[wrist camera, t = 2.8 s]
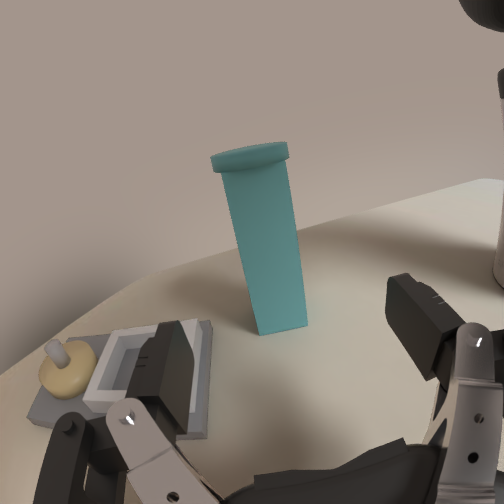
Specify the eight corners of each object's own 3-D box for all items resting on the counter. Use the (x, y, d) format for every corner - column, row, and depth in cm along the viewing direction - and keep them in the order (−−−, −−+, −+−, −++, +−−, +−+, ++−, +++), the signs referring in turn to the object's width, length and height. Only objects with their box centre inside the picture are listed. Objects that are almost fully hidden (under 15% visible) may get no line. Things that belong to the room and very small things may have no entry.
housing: (212, 328, 24) (197, 286, 22) (206, 438, 14) (179, 399, 12) (73, 345, 25) (52, 311, 23) (33, 424, 15) (0, 388, 13)
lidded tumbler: (303, 293, 26) (279, 140, 21) (316, 328, 22) (293, 144, 16) (249, 304, 27) (213, 153, 21) (252, 342, 22) (207, 161, 16)
